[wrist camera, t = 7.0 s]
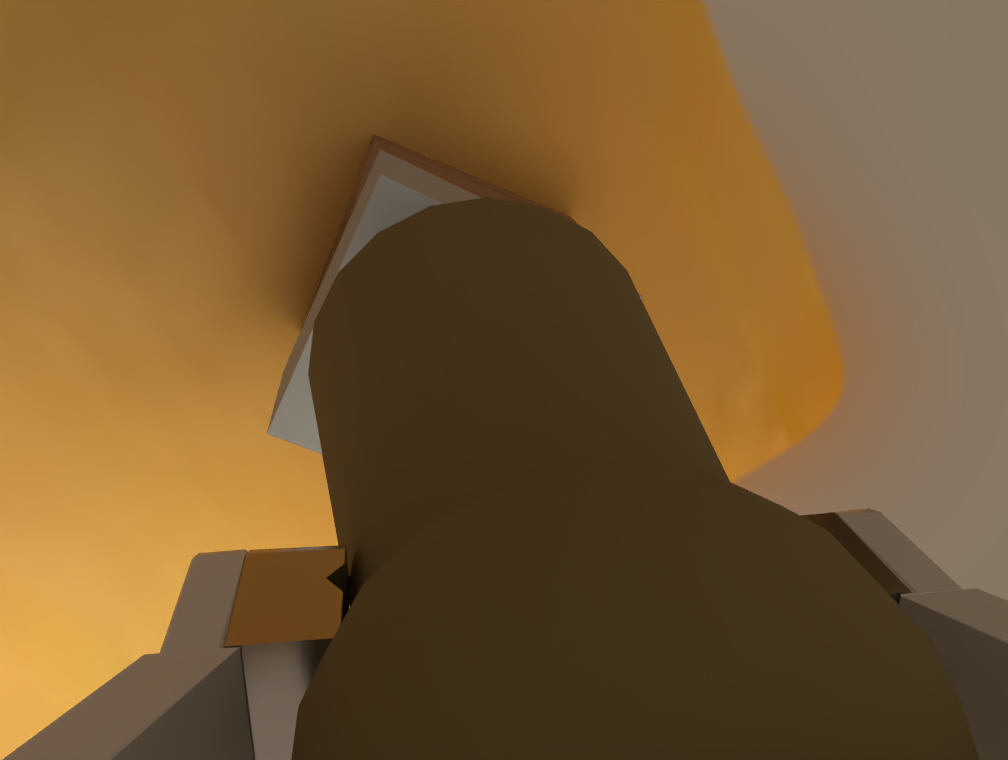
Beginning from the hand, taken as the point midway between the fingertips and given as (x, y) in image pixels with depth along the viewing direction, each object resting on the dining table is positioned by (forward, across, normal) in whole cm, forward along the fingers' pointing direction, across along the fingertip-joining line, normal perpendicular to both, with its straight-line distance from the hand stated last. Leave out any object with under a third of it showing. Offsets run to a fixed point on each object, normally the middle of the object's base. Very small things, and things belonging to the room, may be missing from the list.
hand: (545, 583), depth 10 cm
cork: (+7, 0, 0) cm, 7 cm away
